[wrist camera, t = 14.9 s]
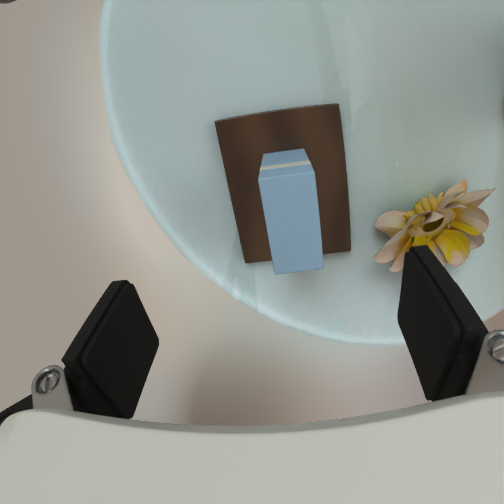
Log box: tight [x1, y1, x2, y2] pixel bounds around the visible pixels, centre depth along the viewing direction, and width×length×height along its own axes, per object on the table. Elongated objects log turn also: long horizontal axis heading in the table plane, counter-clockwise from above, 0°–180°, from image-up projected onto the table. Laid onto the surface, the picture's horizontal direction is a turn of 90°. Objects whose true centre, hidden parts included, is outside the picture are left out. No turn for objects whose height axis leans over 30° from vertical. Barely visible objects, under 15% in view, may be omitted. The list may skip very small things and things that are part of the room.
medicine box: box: [258, 149, 324, 274], centre depth 27 cm, size 4×8×9 cm, turn 10°
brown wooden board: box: [215, 103, 351, 263], centre depth 31 cm, size 12×16×1 cm
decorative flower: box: [373, 180, 496, 272], centre depth 28 cm, size 15×11×10 cm
